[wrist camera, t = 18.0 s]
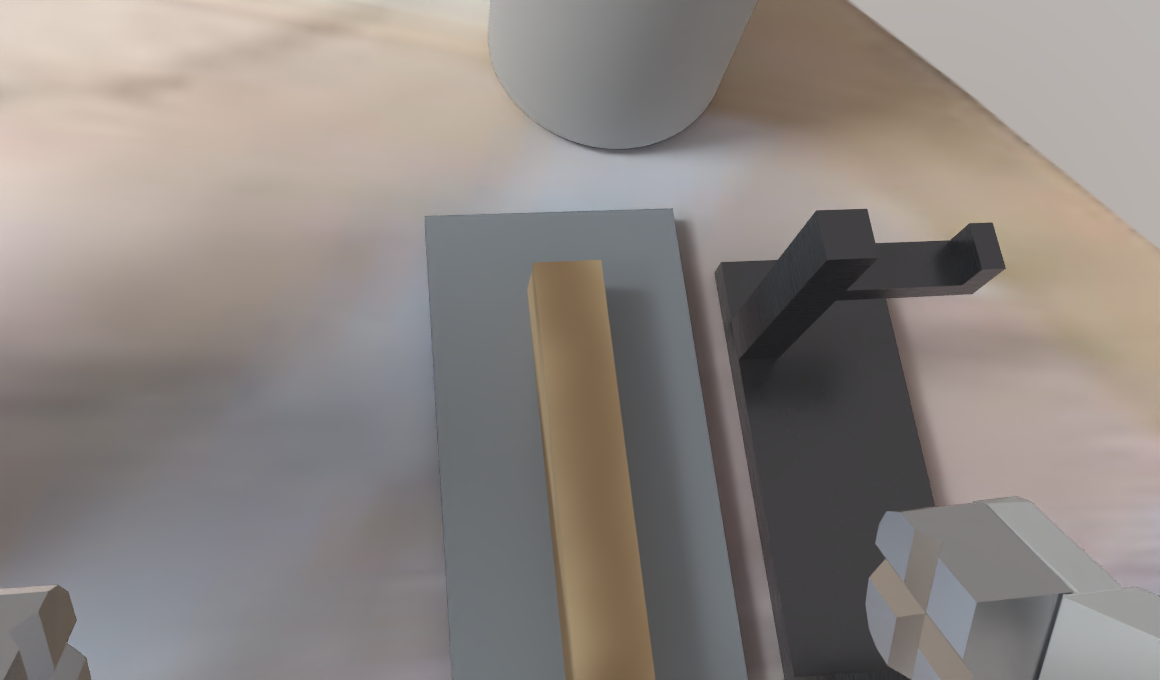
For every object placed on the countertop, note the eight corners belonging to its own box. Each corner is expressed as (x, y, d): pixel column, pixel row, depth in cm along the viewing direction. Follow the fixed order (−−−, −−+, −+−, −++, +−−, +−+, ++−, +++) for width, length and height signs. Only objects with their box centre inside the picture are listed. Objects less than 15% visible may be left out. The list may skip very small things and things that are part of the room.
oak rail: (578, 815, 36) (590, 824, 34) (527, 290, 44) (533, 262, 41) (654, 804, 37) (672, 813, 34) (590, 287, 44) (601, 259, 42)
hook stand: (806, 806, 39) (955, 849, 28) (714, 272, 47) (800, 140, 36) (985, 781, 40) (1195, 811, 29) (865, 266, 48) (993, 136, 37)
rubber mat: (464, 886, 36) (465, 891, 35) (425, 227, 46) (424, 216, 44) (764, 841, 38) (774, 845, 37) (666, 220, 48) (672, 208, 46)
